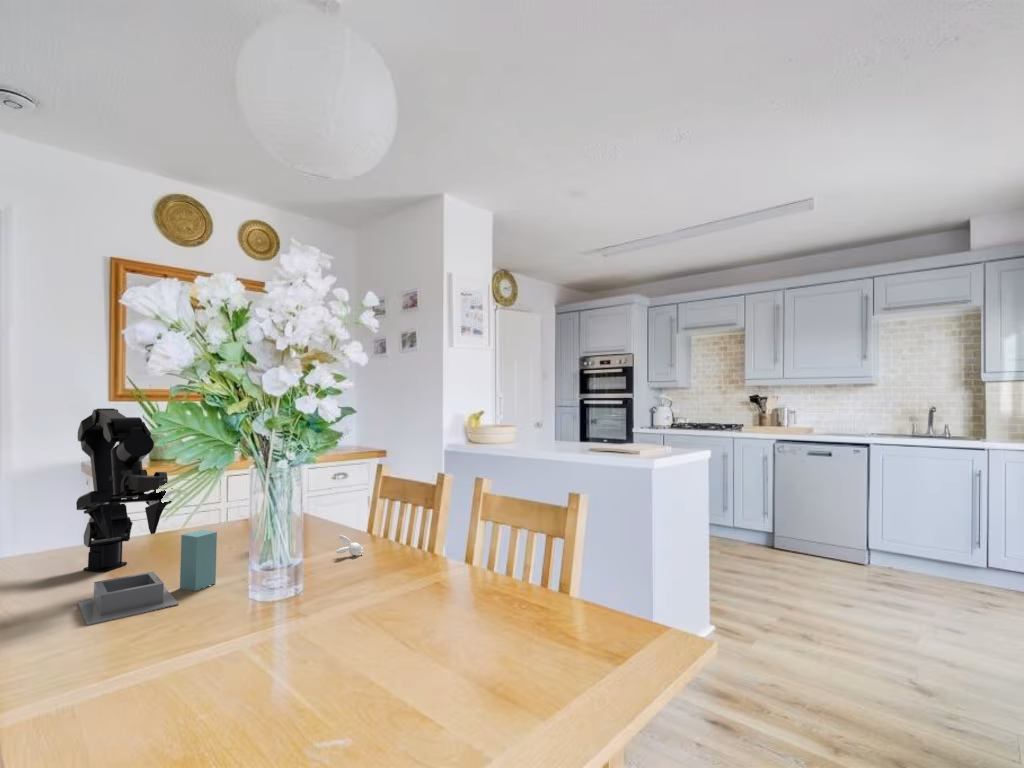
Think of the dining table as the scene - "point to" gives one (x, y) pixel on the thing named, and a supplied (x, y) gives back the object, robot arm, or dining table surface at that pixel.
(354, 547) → the rabbit figurine
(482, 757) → the dining table surface
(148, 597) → the well
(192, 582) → the teal block
